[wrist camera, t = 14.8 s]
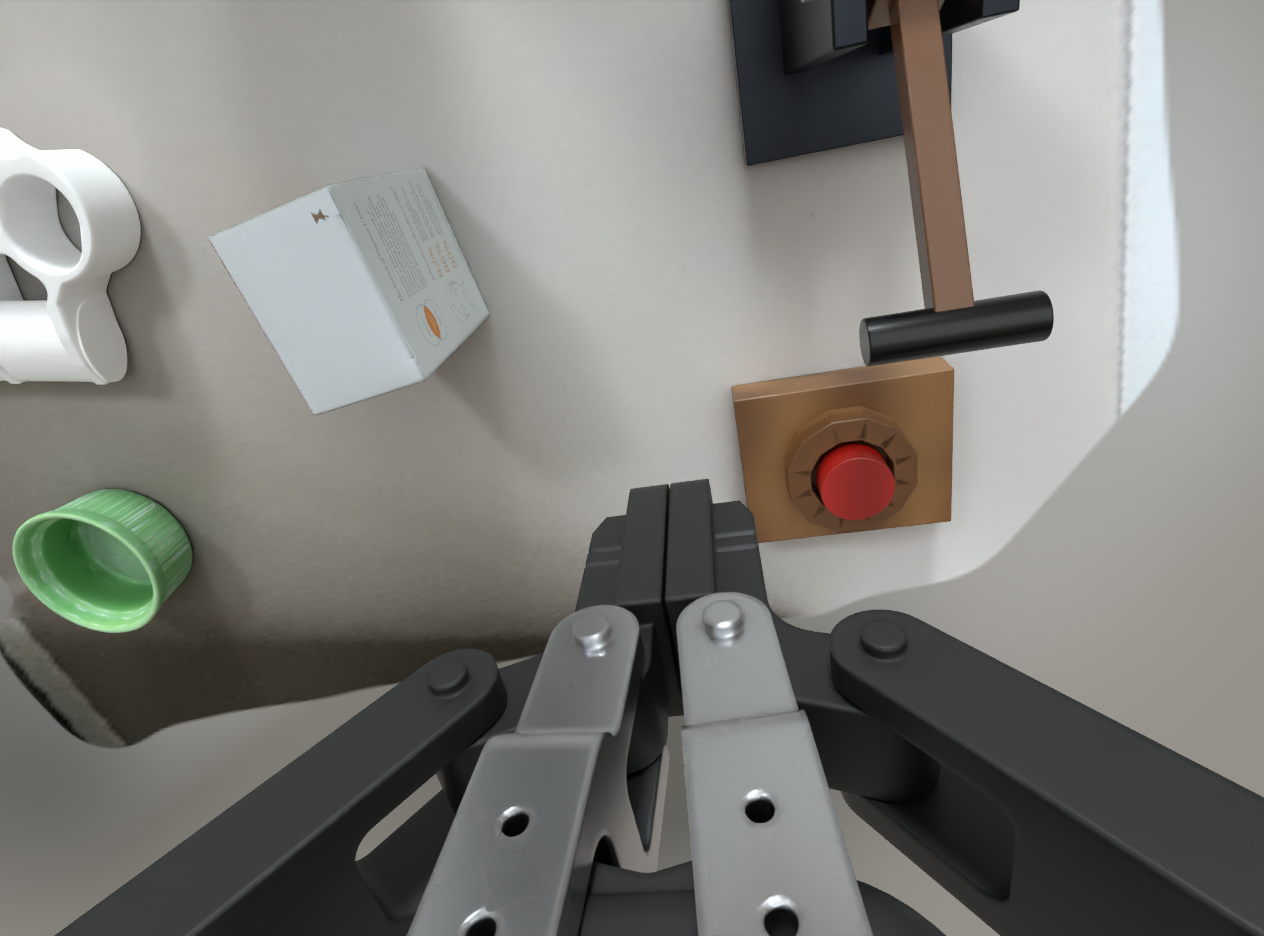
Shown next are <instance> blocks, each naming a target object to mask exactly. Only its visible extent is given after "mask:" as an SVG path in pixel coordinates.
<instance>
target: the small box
mask: <svg viewBox="0 0 1264 936" xmlns="http://www.w3.org/2000/svg"><path fill="white" fill-rule="evenodd" d="M208 240H209V241H210V243H211V245H212V246H213V248H214V249H215V251H216V253H217V254H218V256H219V258H220V259H221V261H222V263H223V264H224V266H225V268H226V269H227V271H228V273H229V274H230V276H231V278H232V280H233V281H234V283H235V285H236V286H237V288H238V289H239V291H240V293H241V294H242V296H243V298H244V299H245V301H246V303H247V304H248V306H249V308H250V309H251V311H252V313H253V314H254V316H255V318H256V319H257V321H258V323H259V324H260V326H261V327H262V329H263V331H264V333H265V334H266V336H267V338H268V339H269V341H270V343H271V344H272V346H273V348H274V349H275V351H276V353H277V354H278V356H279V358H280V359H281V361H282V363H283V364H284V366H285V368H286V369H287V371H288V373H289V375H290V376H291V378H292V379H293V381H294V383H295V384H296V386H297V388H298V390H299V391H300V393H301V395H302V396H303V398H304V400H305V401H306V403H307V405H308V406H309V408H310V410H311V412H312V413H313V415H320V414H323V413H326V412H329V411H332V410H336V409H339V408H342V407H345V406H348V405H351V404H355V403H358V402H361V401H364V400H367V399H370V398H373V397H376V396H379V395H383V394H386V393H389V392H392V391H395V390H398V389H401V388H404V387H407V386H411V385H414V384H417V383H420V382H423V381H425V380H427V379H428V378H429V377H430V376H431V375H432V374H433V373H434V372H435V370H436V369H438V367H439V366H440V365H441V364H442V363H443V362H444V361H445V360H446V359H447V358H448V357H449V356H450V355H451V354H452V353H453V352H454V351H455V350H456V349H457V348H458V347H459V346H460V345H461V344H462V343H463V342H464V341H465V340H466V339H467V338H468V337H469V336H470V335H471V334H472V333H473V332H474V331H475V330H476V329H477V328H478V327H479V326H480V325H481V323H482V322H483V321H484V320H485V319H486V318H487V317H489V311H488V309H487V307H486V305H485V303H484V300H483V298H482V296H481V294H480V292H479V289H478V287H477V285H476V283H475V281H474V278H473V276H472V274H471V271H470V269H469V267H468V265H467V263H466V260H465V258H464V256H463V254H462V251H461V249H460V247H459V245H458V242H457V240H456V238H455V236H454V233H453V231H452V229H451V227H450V224H449V222H448V220H447V218H446V215H445V213H444V211H443V209H442V207H441V204H440V202H439V200H438V198H437V195H436V193H435V191H434V189H433V186H432V184H431V182H430V179H429V177H428V175H427V172H426V170H425V169H424V168H423V167H417V168H413V169H409V170H404V171H399V172H394V173H389V174H385V175H379V176H373V177H368V178H362V179H356V180H351V181H346V182H341V183H336V184H332V185H328V186H326V187H323V188H321V189H319V190H316V191H314V192H312V193H309V194H307V195H304V196H302V197H300V198H297V199H295V200H292V201H290V202H288V203H285V204H283V205H281V206H278V207H276V208H274V209H271V210H269V211H267V212H264V213H262V214H260V215H257V216H255V217H253V218H250V219H248V220H246V221H243V222H241V223H239V224H237V225H234V226H232V227H230V228H227V229H225V230H222V231H220V232H217V233H215V234H213V235H211V236H210V237H209V238H208Z"/></svg>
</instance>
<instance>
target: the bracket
mask: <svg viewBox="0 0 1264 936" xmlns="http://www.w3.org/2000/svg"><path fill="white" fill-rule="evenodd" d="M1019 2H1020V0H945V2H944V4H943V6H942V8H941V10H940V12H939V14H940V22H941V30H942V39H943V47H944V55H945V64H946V72H947V81H948V89H949V97H950V106H951V81H952V33H955V32H958V31H960V30H963V29H966V28H969V27H972V26H975V25H978V24H981V23H984V22H987V21H990V20H993V19H996V18H999V17H1002V16H1005V15H1007V14H1010V13H1013V12H1016V11H1018V10H1019ZM728 8H729V17H730V26H731V36H732V45H733V55H734V64H735V74H736V83H737V93H738V102H739V112H740V121H741V130H742V140H743V149H744V159H745V164H746V165H747V166H749V165H755V164H760V163H765V162H770V161H775V160H780V159H785V158H790V157H795V156H800V155H805V154H810V153H815V152H820V151H825V150H830V149H835V148H840V147H845V146H850V145H855V144H860V143H866V142H871V141H876V140H881V139H886V138H891V137H896V136H901V135H904V134H903V125H902V117H901V109H900V101H899V93H898V85H897V76H896V68H895V60H894V52H893V44H892V36H891V27H890V25H889V26H884V27H880V28H875V29H871V30H868V8H867V0H728Z"/></svg>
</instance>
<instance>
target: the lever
mask: <svg viewBox="0 0 1264 936" xmlns="http://www.w3.org/2000/svg"><path fill="white" fill-rule="evenodd" d="M944 2H945V0H867V8H868V30H871V29H875V28H880V27H884V26H889V25H890V27H891V36H892V44H893V52H894V60H895V68H896V76H897V85H898V93H899V101H900V109H901V117H902V125H903V134H904V142H905V150H906V158H907V166H908V175H909V183H910V191H911V199H912V207H913V215H914V224H915V232H916V240H917V248H918V256H919V264H920V273H921V281H922V289H923V297H924V305H925V309H921V310H915V311H908V312H902V313H896V314H890V315H883V316H877V317H871V318H864V319H862V320H861V323H860V347H861V353H862V357H863V360H864V363H865V365H866V366H868V367H870V366H876V365H883V364H890V363H896V362H903V361H910V360H917V359H923V358H930V357H937V356H943V355H950V354H957V353H964V352H970V351H977V350H984V349H990V348H997V347H1004V346H1011V345H1017V344H1024V343H1031V342H1037V341H1044V340H1046V339H1047V338H1048V337H1049V336H1050V334H1051V331H1052V327H1053V308H1052V304H1051V301H1050V298H1049V296H1048V295H1047V294H1046V293H1045V292H1044V291H1034V292H1027V293H1021V294H1015V295H1008V296H1002V297H996V298H990V299H983V300H977V301H974V298H973V290H972V281H971V273H970V265H969V256H968V248H967V239H966V231H965V223H964V214H963V206H962V198H961V189H960V181H959V173H958V164H957V156H956V147H955V139H954V131H953V122H952V114H951V106H950V97H949V89H948V81H947V72H946V64H945V55H944V47H943V39H942V30H941V22H940V14H939V12H940V10H941V8H942V6H943V4H944Z"/></svg>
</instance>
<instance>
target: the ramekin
mask: <svg viewBox="0 0 1264 936" xmlns="http://www.w3.org/2000/svg"><path fill="white" fill-rule="evenodd" d="M12 550H13V559H14V562H15V565H16V568H17V570H18V572H19V575H20V576H21V578H22V580H23V581H24V583H25V584H26V586H27V587H28V588H29V590H30V591H31V592H32V593H33V594H34V595H35V596H36V597H37V598H38V599H39V600H40V601H41V602H42V603H43V604H45V605H46V606H47V607H48V608H50V609H51V610H52V611H54V612H55V613H57V614H58V615H60V616H62V617H63V618H65V619H67V620H69V621H71V622H73V623H75V624H78V625H80V626H83V627H86V628H89V629H92V630H96V631H101V632H109V633H122V632H129V631H133V630H136V629H138V628H141V627H142V626H144V625H146V624H147V623H148V622H150V621H151V620H152V619H153V617H154V616H155V615H156V614H157V612H158V611H159V609H160V607H161V606H162V604H163V603H164V601H165V600H166V599H167V598H168V597H169V596H170V595H171V594H172V593H173V592H174V591H175V590H176V588H177V587H178V586H179V585H180V584H181V583H182V581H183V580H184V579H185V578H186V576H187V575H188V573H189V571H190V569H191V565H192V558H193V556H192V548H191V544H190V541H189V539H188V537H187V534H186V533H185V531H184V529H183V528H182V526H181V525H180V524H179V522H178V521H177V520H176V519H175V518H174V517H173V516H172V515H171V514H170V513H169V512H168V511H167V510H166V509H165V508H163V507H162V506H161V505H159V504H158V503H156V502H154V501H153V500H151V499H149V498H147V497H145V496H142V495H140V494H137V493H134V492H131V491H127V490H122V489H101V490H97V491H93V492H90V493H88V494H86V495H84V496H82V497H80V498H78V499H76V500H74V501H72V502H70V503H68V504H66V505H64V506H62V507H59V508H57V509H55V510H52V511H48V512H44V513H42V514H39V515H37V516H34V517H32V518H31V519H29V520H27V521H26V522H25V523H23V524H22V525H21V526H20V528H19V529H18V530H17V532H16V534H15V537H14V540H13V547H12Z"/></svg>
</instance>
